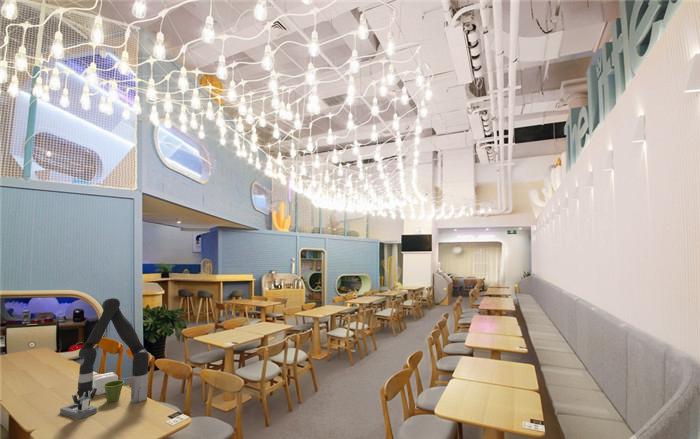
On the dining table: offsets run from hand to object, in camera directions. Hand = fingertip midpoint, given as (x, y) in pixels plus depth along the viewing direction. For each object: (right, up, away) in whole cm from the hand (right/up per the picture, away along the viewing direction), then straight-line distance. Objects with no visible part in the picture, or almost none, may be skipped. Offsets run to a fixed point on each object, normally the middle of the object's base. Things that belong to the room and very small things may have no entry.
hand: (83, 408), depth 216 cm
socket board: (-5, -4, +2) cm, 6 cm away
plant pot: (+4, -6, +20) cm, 22 cm away
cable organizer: (-13, -8, +35) cm, 38 cm away
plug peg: (0, -4, 0) cm, 4 cm away
